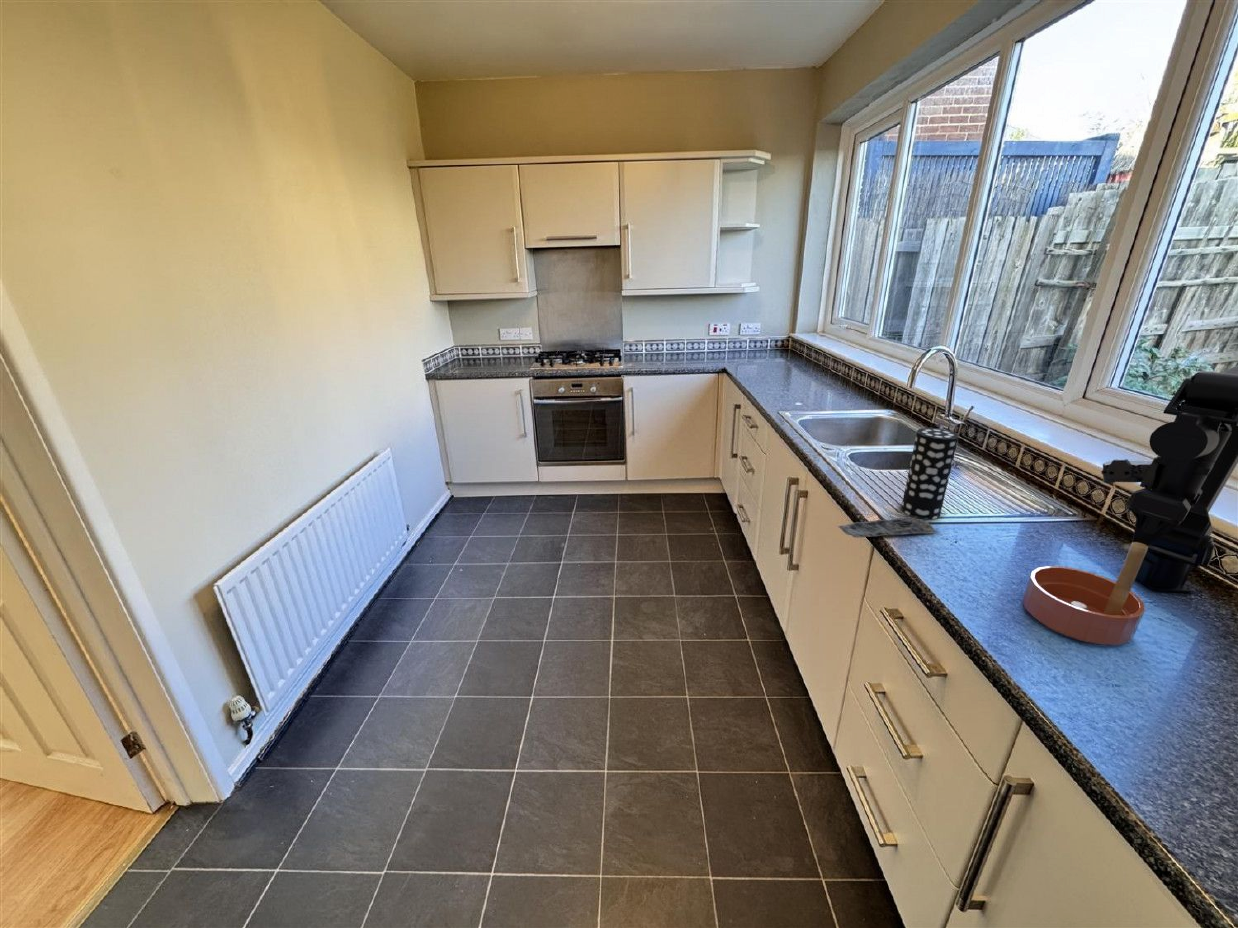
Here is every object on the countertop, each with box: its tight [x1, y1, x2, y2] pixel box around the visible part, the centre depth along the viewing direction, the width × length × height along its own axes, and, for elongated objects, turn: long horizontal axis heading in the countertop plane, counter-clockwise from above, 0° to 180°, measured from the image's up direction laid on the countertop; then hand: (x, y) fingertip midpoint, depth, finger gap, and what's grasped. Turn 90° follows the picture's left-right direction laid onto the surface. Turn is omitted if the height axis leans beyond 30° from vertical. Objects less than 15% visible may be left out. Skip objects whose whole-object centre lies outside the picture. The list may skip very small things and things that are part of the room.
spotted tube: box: [900, 427, 960, 520], centre depth 120 cm, size 8×8×20 cm
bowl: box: [1021, 565, 1146, 646], centre depth 85 cm, size 14×14×6 cm
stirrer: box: [1059, 542, 1148, 615], centre depth 83 cm, size 10×2×15 cm, turn 32°
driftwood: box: [837, 517, 937, 539], centre depth 115 cm, size 21×7×2 cm, turn 96°
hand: (1141, 543), depth 84 cm, fingers open, 9 cm apart
